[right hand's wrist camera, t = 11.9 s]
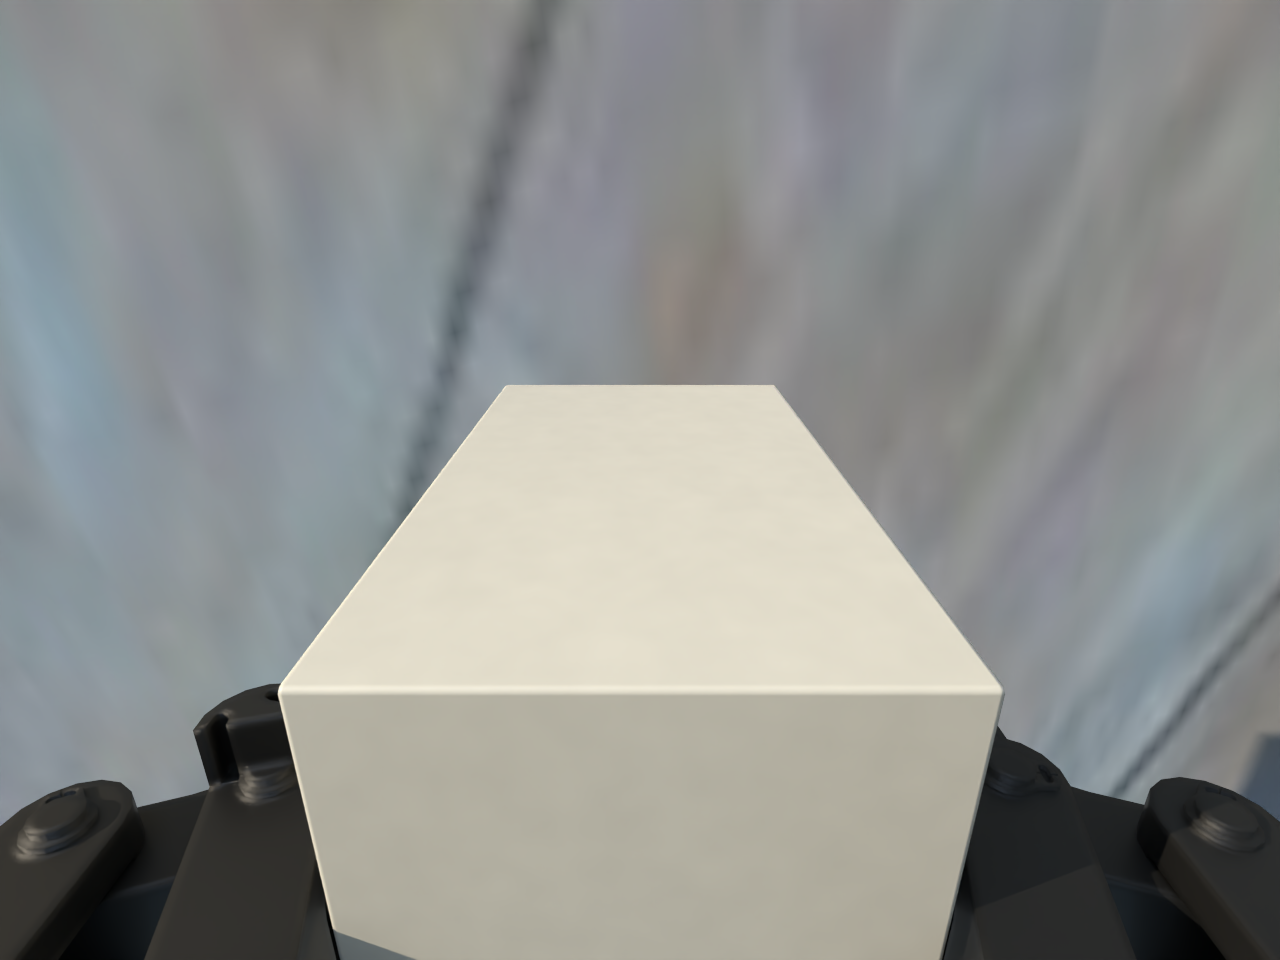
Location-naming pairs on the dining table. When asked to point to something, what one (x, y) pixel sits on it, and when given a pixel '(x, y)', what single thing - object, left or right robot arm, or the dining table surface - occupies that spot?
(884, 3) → the dining table surface
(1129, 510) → the dining table surface
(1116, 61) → the dining table surface
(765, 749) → the bar
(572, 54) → the dining table surface
